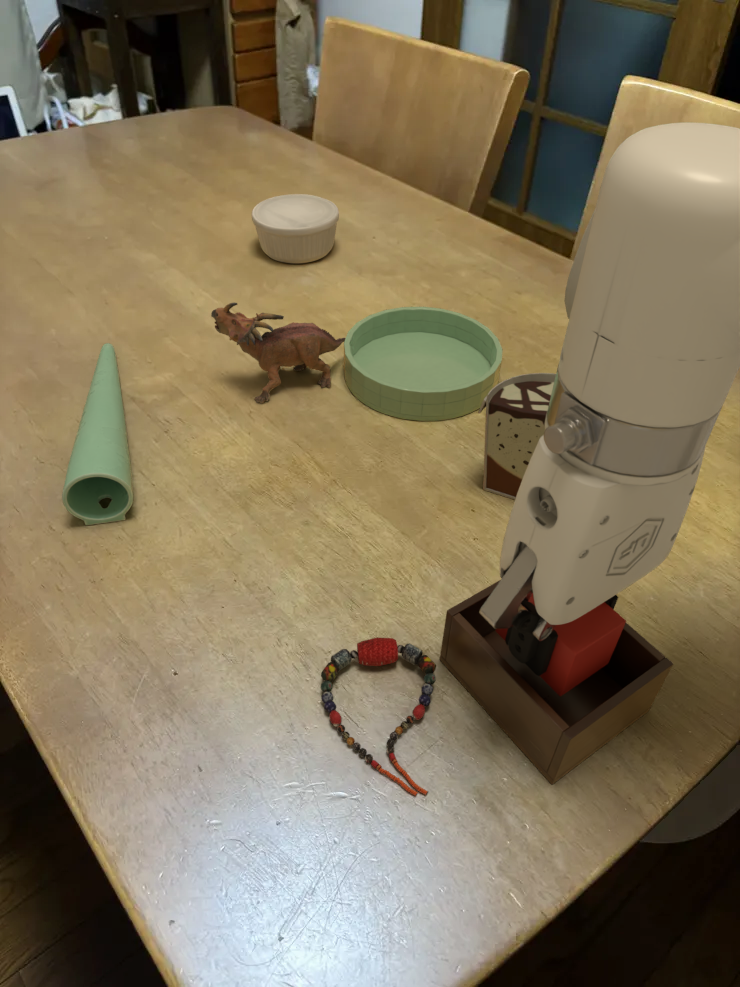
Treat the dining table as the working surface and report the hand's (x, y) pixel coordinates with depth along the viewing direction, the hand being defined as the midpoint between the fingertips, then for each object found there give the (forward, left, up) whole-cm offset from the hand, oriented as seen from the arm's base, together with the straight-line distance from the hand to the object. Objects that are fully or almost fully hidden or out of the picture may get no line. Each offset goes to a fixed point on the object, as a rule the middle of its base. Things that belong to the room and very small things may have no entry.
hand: (554, 637), depth 48 cm
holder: (0, 0, -5) cm, 5 cm away
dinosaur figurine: (+26, -32, -6) cm, 42 cm away
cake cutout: (0, -21, -6) cm, 22 cm away
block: (0, 0, -1) cm, 1 cm away
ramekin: (+33, -62, -6) cm, 70 cm away
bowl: (+13, -36, -5) cm, 39 cm away
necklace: (+10, +5, -6) cm, 13 cm away
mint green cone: (+41, -21, -6) cm, 47 cm away
